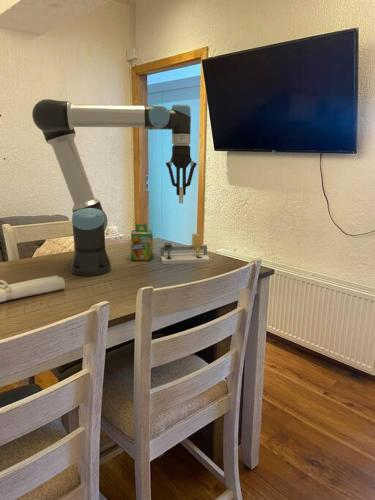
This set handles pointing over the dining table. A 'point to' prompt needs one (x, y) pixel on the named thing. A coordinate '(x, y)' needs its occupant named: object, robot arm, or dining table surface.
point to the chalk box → (141, 243)
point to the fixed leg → (168, 248)
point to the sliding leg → (196, 243)
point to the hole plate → (185, 255)
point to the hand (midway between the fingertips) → (181, 202)
